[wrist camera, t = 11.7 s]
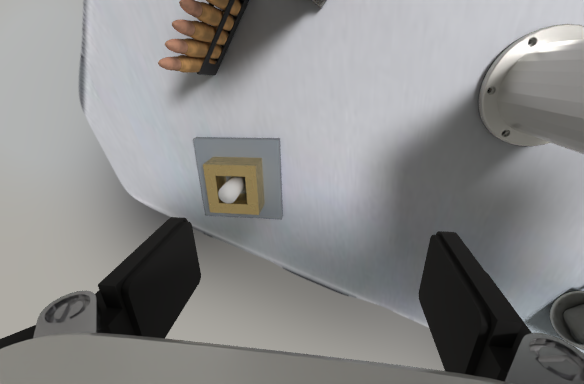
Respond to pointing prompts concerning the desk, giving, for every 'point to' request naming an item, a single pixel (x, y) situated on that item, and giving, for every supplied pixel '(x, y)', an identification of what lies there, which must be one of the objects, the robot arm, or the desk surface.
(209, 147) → the post plate
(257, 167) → the collar
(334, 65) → the desk surface
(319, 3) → the cassette tape recorder
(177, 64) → the ammunition clip
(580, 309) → the grey tan-ended cylinder
